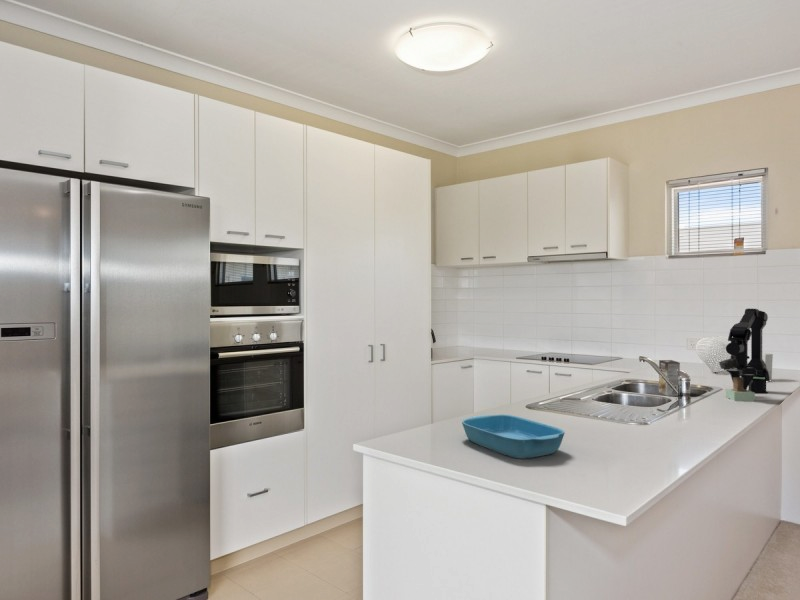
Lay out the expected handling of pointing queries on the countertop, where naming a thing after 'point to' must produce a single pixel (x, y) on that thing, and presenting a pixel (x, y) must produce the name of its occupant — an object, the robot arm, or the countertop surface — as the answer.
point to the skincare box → (768, 363)
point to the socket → (740, 395)
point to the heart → (713, 351)
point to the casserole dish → (513, 435)
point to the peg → (738, 385)
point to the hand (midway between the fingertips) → (740, 387)
